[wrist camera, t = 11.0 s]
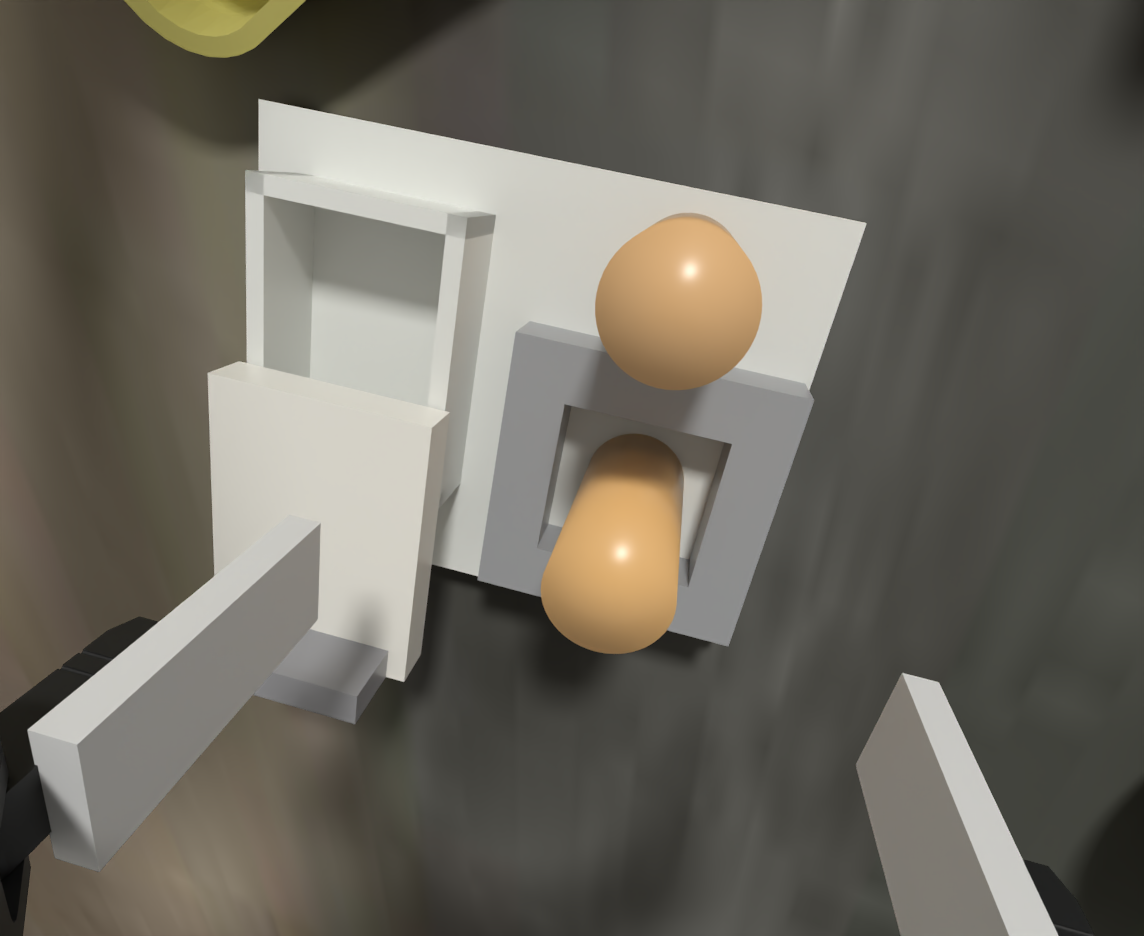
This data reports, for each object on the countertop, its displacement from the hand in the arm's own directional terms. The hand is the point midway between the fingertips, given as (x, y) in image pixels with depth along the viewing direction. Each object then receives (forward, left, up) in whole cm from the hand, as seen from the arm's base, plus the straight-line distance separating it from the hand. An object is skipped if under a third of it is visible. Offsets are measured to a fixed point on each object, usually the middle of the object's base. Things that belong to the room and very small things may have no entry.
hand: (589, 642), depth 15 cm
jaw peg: (0, 0, -11) cm, 11 cm away
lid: (+3, -10, -8) cm, 13 cm away
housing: (-2, -5, -12) cm, 13 cm away
